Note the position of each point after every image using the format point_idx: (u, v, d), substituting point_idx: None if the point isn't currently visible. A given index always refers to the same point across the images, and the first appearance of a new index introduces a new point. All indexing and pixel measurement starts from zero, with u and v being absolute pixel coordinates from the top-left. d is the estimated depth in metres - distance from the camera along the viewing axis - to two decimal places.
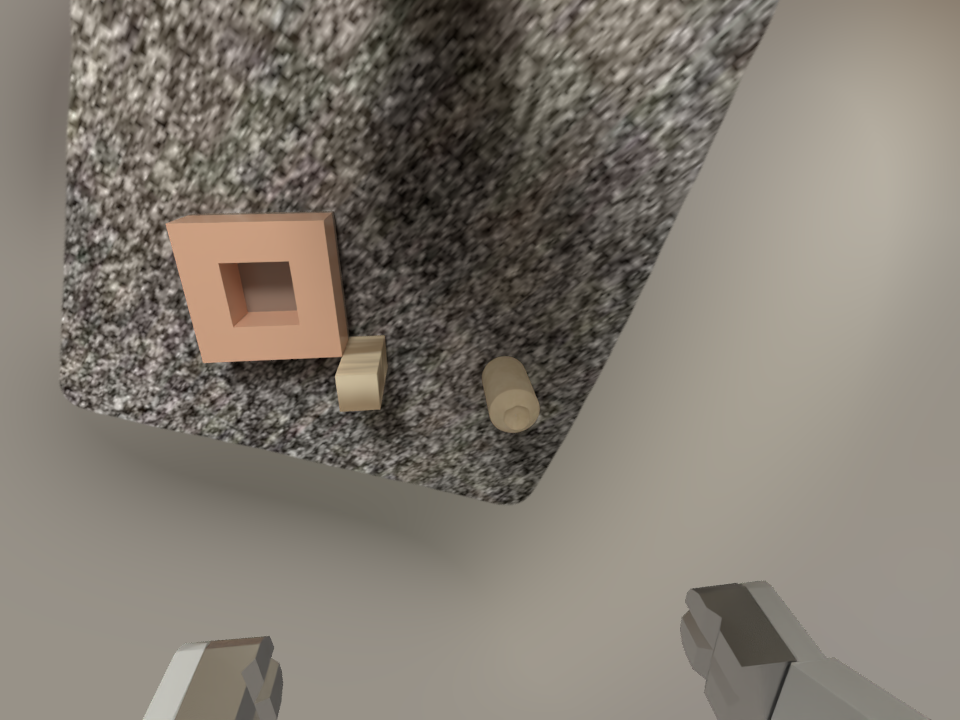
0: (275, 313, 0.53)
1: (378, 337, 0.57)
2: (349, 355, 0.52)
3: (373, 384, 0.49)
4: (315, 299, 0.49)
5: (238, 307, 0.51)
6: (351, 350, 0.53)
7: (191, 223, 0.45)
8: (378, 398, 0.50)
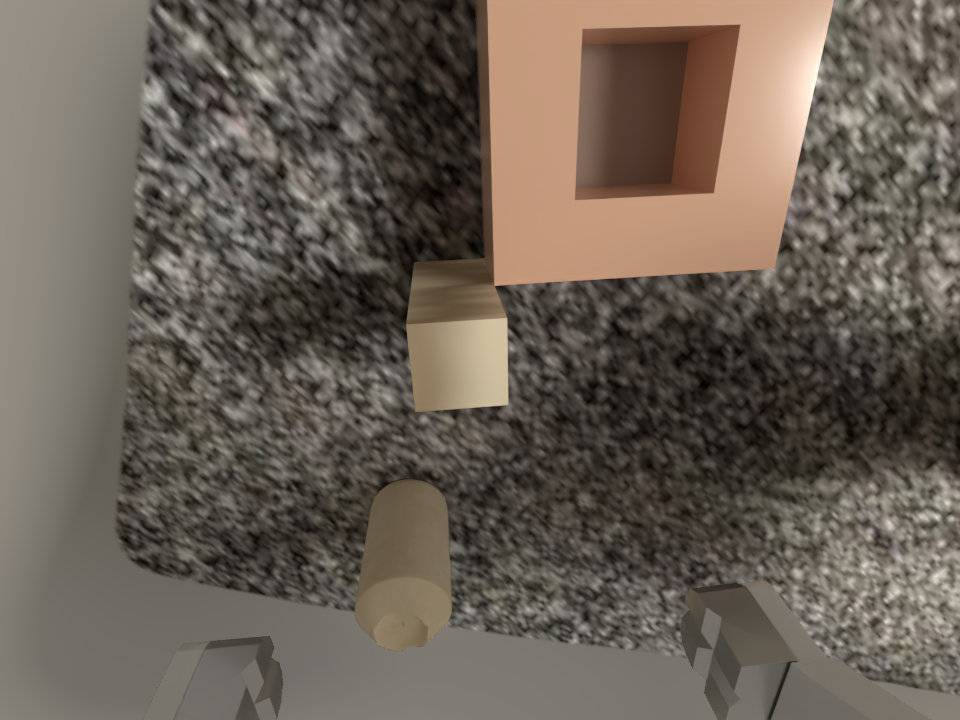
0: None
1: None
2: None
3: (483, 397, 0.21)
4: (628, 239, 0.23)
5: (595, 37, 0.22)
6: None
7: None
8: (444, 407, 0.21)
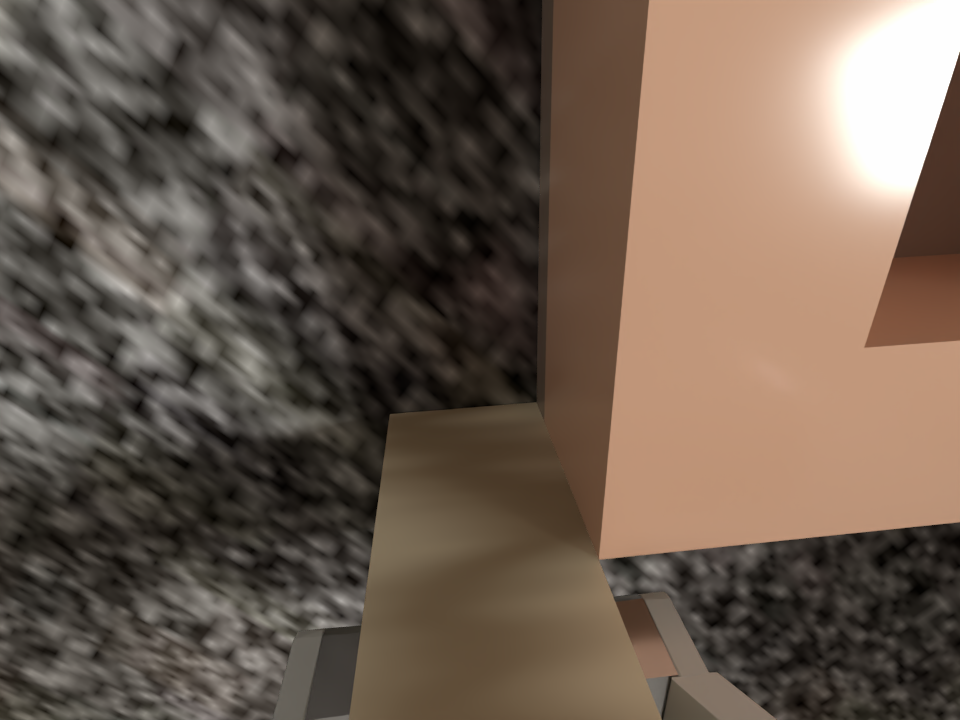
0: None
1: None
2: None
3: None
4: None
5: None
6: None
7: None
8: None
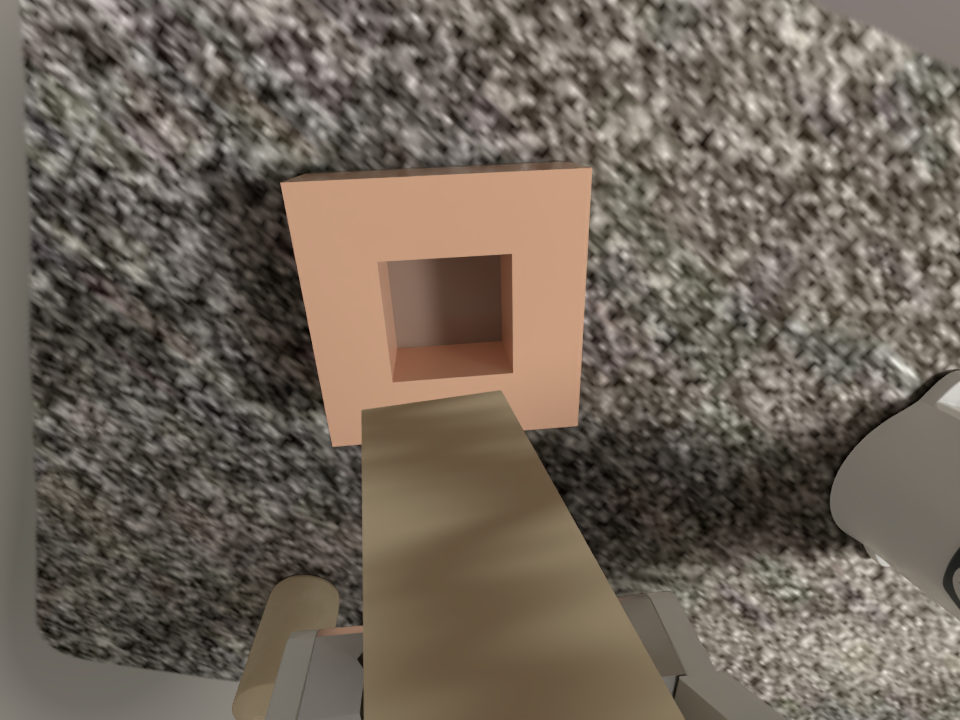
0: (389, 296, 0.28)
1: None
2: None
3: None
4: None
5: None
6: None
7: (587, 216, 0.24)
8: None
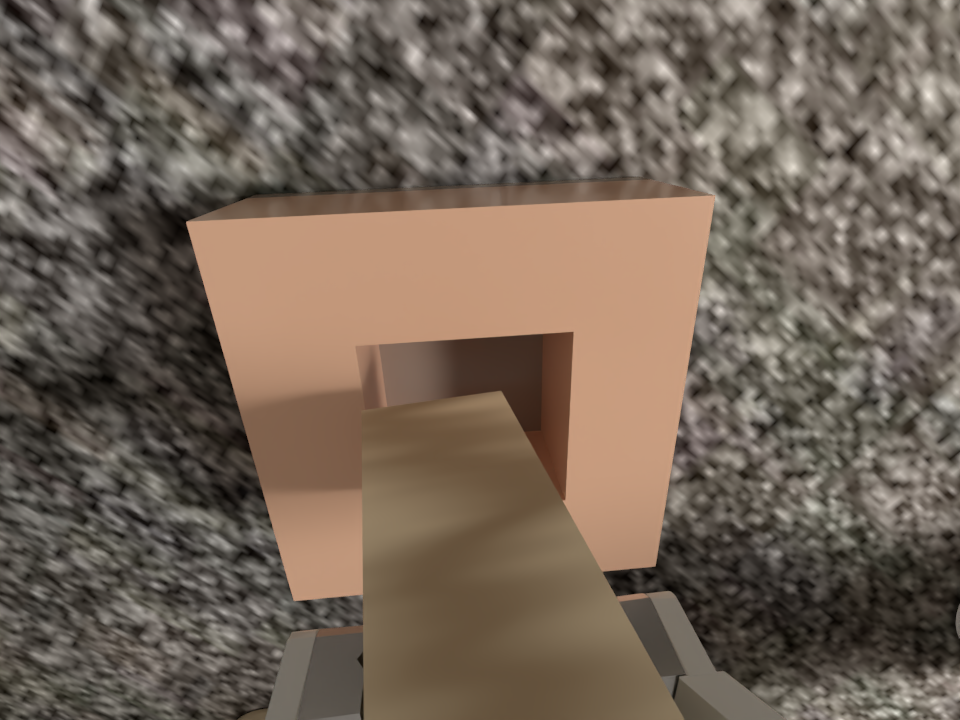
0: (380, 375, 0.19)
1: None
2: None
3: None
4: None
5: None
6: None
7: (699, 272, 0.15)
8: None
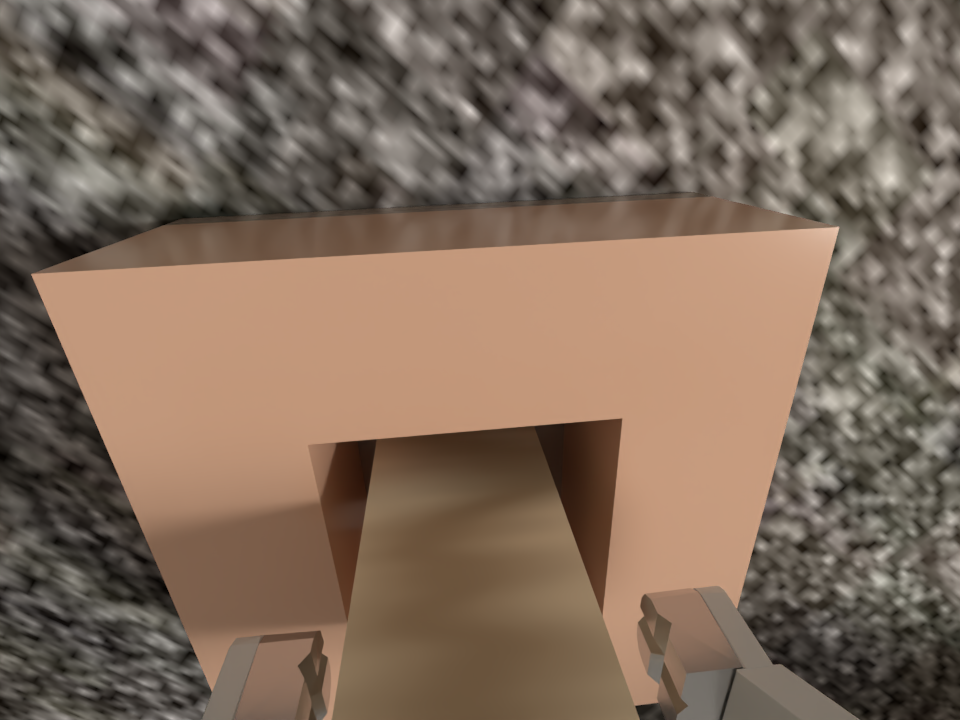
0: (354, 451, 0.15)
1: None
2: None
3: None
4: None
5: None
6: None
7: (803, 334, 0.10)
8: None
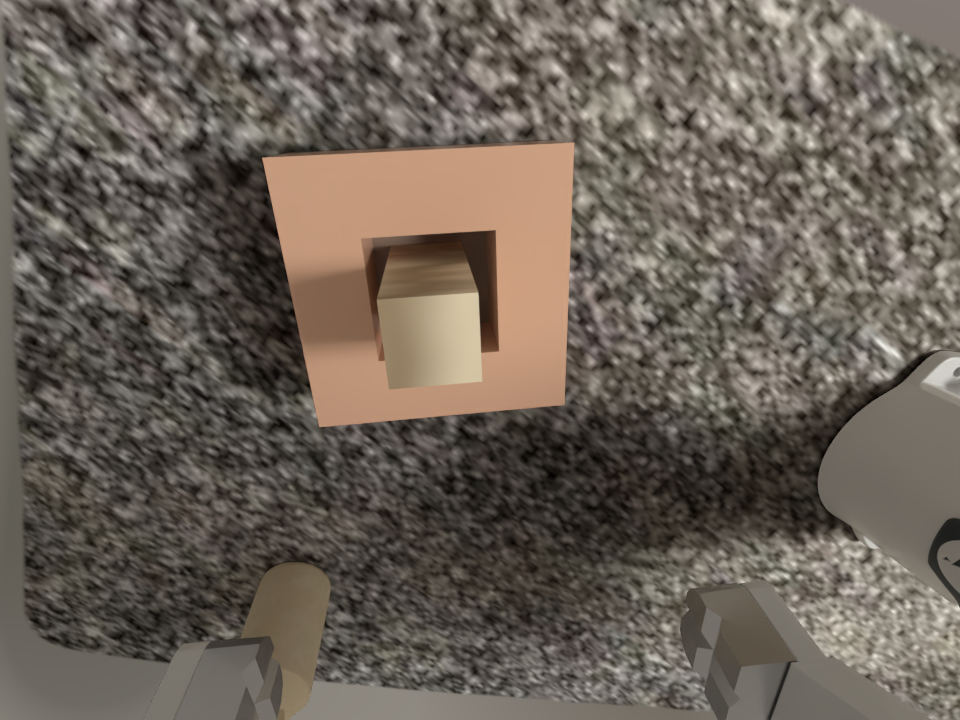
0: (375, 277, 0.28)
1: None
2: None
3: (456, 374, 0.21)
4: (431, 388, 0.27)
5: None
6: None
7: (570, 191, 0.24)
8: (418, 384, 0.21)
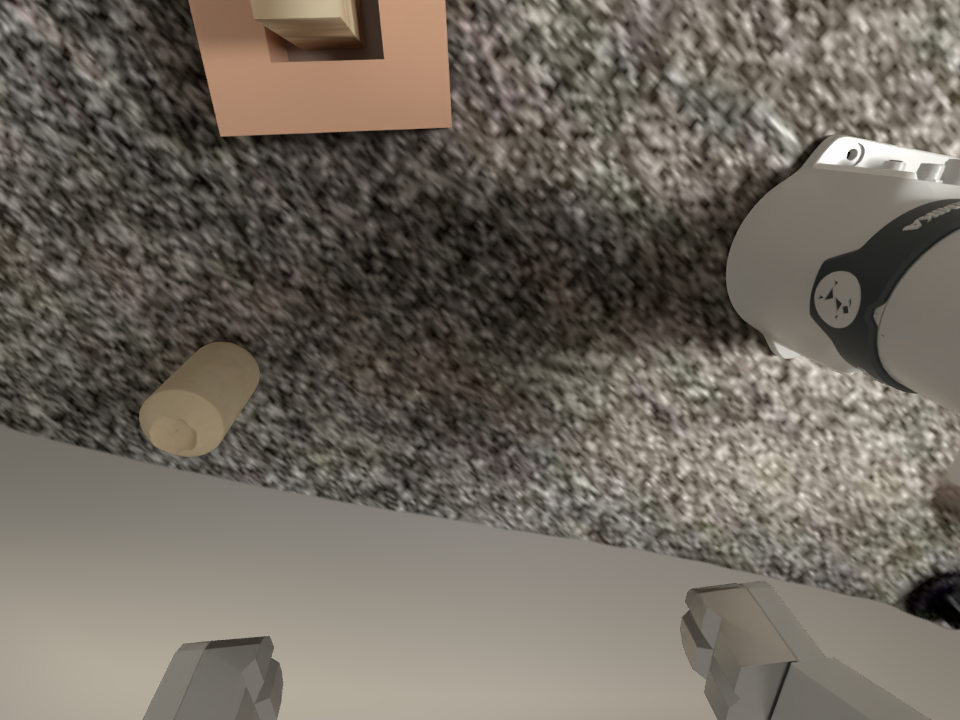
0: None
1: (362, 34, 0.32)
2: None
3: (315, 5, 0.23)
4: (323, 98, 0.30)
5: None
6: None
7: None
8: (281, 16, 0.23)
